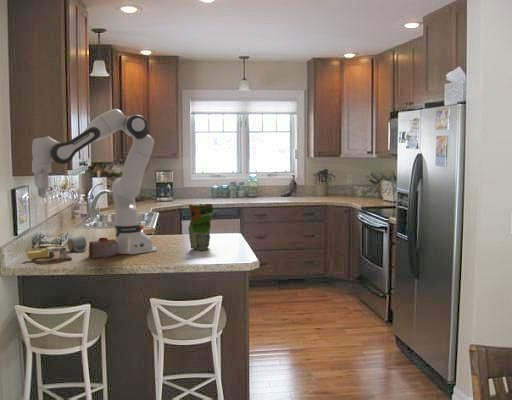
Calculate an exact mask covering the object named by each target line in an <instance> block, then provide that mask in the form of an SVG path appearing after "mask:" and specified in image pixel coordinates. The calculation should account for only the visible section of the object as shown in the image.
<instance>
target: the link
mask: <svg viewBox="0 0 512 400" xmlns="http://www.w3.org/2000/svg"><path fill="white" fill-rule="evenodd" d="M54 247H55V246H47V247H46V248H42V249H41V250H33V251H26V256H27V257H26V258H27V259H28V260H29V259H33V258H42V257H48V255H49V252H48V248H54Z"/></svg>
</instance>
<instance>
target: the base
mask: <svg viewBox="0 0 512 400" xmlns="http://www.w3.org/2000/svg"><path fill="white" fill-rule="evenodd" d="M55 252H59V253H55ZM32 259H33V261H34V262H35V263H36V264H37V265H38V264H46V263H48V264H49V263H56V262H57V263H58V262H67V261H72V257H71V256H70V255H69V254H68V253H67V247H66V246H54V248H48V257H42V258H32Z"/></svg>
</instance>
